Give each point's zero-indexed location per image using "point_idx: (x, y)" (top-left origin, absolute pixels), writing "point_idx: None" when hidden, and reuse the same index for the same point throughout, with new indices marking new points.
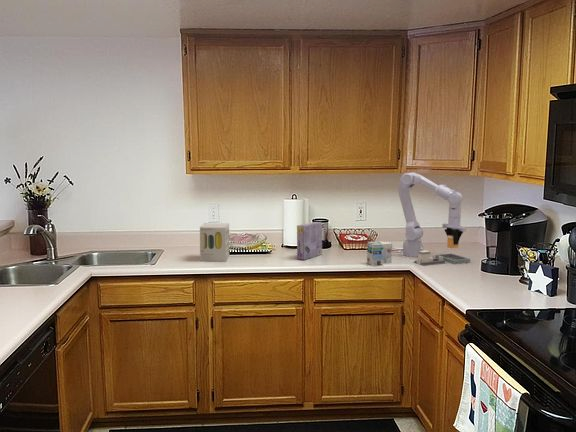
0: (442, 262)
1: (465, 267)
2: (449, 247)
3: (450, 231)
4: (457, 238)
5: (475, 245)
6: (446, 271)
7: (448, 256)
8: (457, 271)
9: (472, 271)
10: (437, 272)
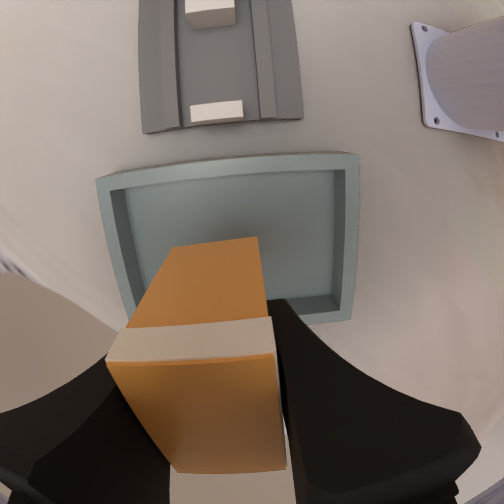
0: (165, 101)
1: (74, 231)
2: (210, 243)
3: (298, 494)
4: None
5: None
6: (29, 60)
7: (336, 279)
8: (12, 125)
9: (2, 211)
10: (36, 9)
